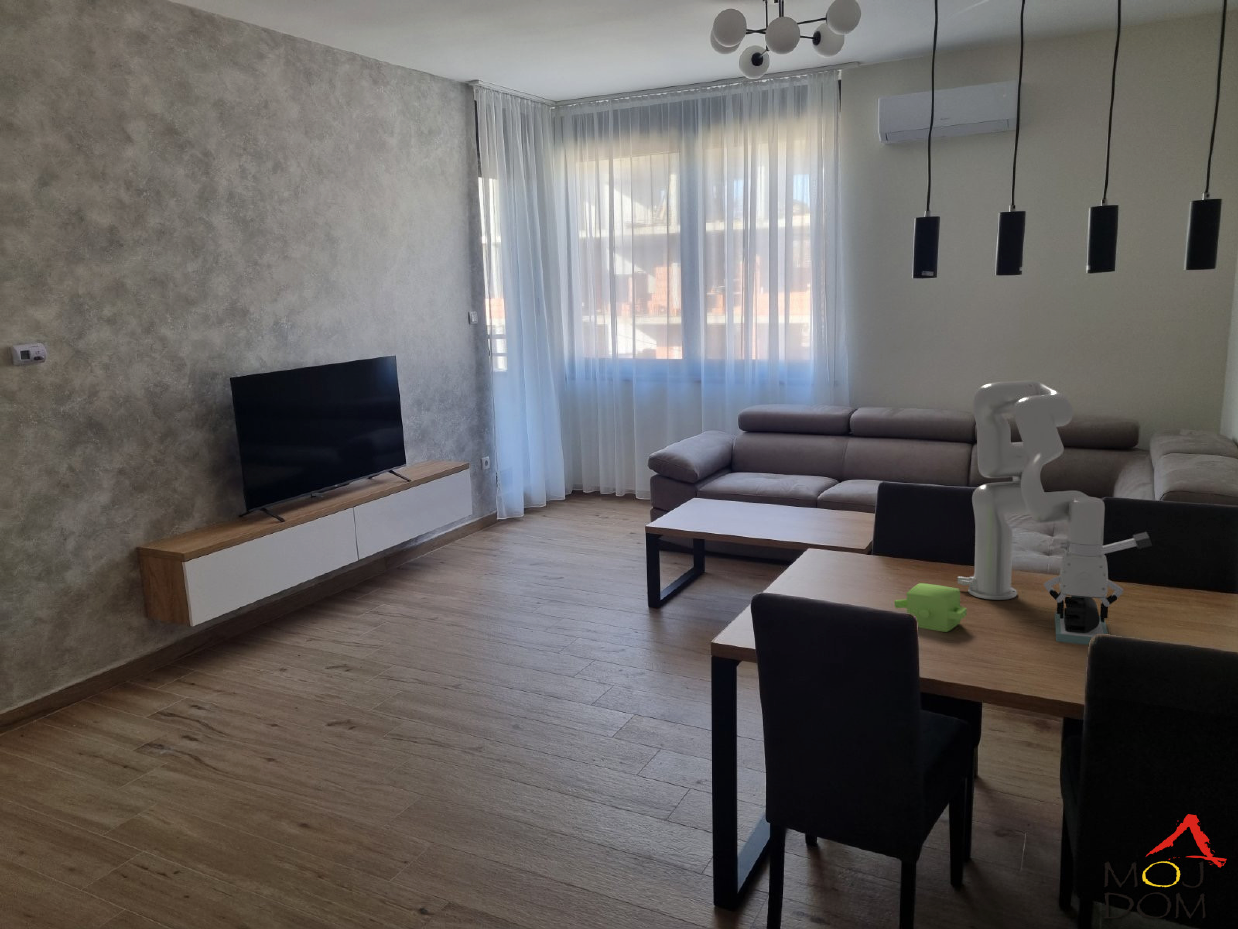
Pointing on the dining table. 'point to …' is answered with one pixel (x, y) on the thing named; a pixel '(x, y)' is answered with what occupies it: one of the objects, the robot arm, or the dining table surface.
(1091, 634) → the press frame
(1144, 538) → the press lever
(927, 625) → the gearbox
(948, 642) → the dining table surface
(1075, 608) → the end cap
